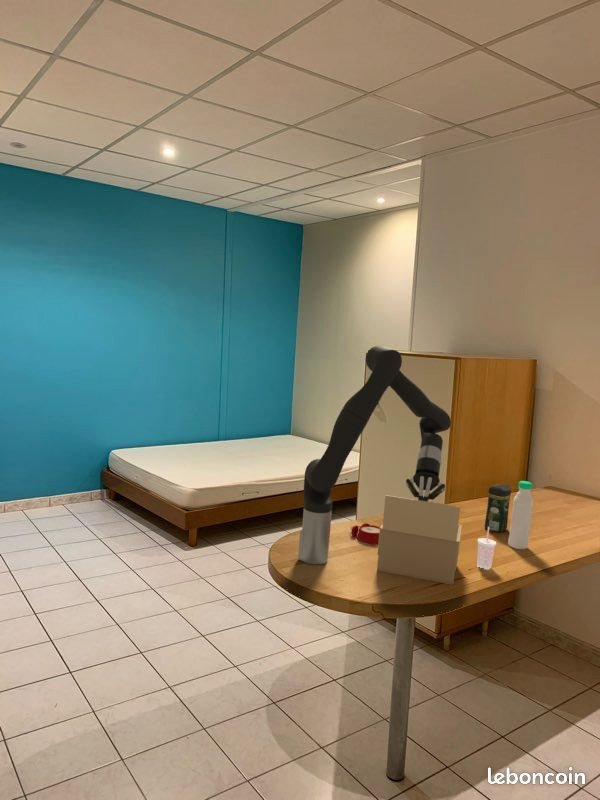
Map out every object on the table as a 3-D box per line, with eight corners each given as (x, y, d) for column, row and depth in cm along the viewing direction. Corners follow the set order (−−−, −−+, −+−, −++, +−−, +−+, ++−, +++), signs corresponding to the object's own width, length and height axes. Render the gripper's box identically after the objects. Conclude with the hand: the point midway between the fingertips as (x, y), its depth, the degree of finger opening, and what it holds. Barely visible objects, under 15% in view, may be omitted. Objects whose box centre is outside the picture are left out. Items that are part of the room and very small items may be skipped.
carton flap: (382, 528, 195) (382, 528, 195) (385, 495, 194) (385, 495, 193) (456, 541, 188) (456, 541, 188) (460, 506, 187) (460, 507, 187)
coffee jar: (490, 524, 256) (495, 481, 254) (509, 529, 251) (514, 485, 249) (481, 528, 249) (486, 484, 247) (500, 534, 244) (505, 489, 242)
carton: (375, 570, 197) (379, 528, 195) (385, 551, 214) (388, 512, 213) (454, 585, 190) (459, 541, 188) (457, 564, 207) (462, 524, 206)
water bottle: (531, 550, 228) (539, 484, 225) (513, 549, 227) (521, 484, 224) (521, 543, 235) (529, 479, 232) (504, 543, 233) (512, 479, 230)
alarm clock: (374, 537, 218) (346, 517, 228) (370, 552, 219) (342, 531, 230) (393, 533, 224) (365, 513, 235) (389, 547, 226) (361, 527, 237)
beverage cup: (470, 564, 208) (475, 525, 206) (482, 562, 212) (487, 523, 210) (485, 571, 203) (490, 531, 201) (497, 568, 207) (502, 528, 205)
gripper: (408, 453, 200) (400, 499, 190) (449, 459, 196) (443, 506, 186) (408, 466, 206) (400, 511, 196) (449, 471, 202) (443, 517, 192)
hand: (421, 508), depth 191 cm, fingers closed
